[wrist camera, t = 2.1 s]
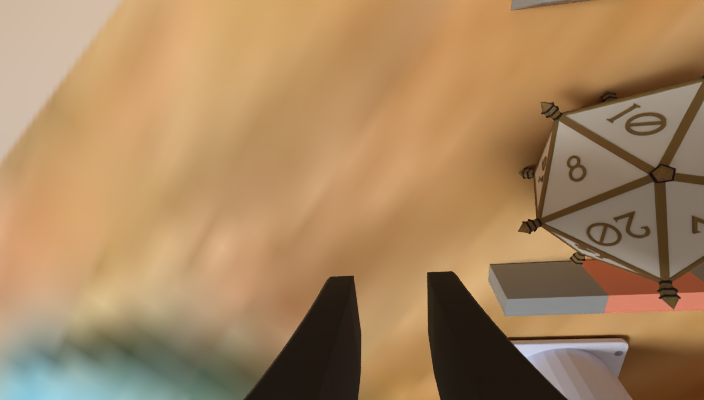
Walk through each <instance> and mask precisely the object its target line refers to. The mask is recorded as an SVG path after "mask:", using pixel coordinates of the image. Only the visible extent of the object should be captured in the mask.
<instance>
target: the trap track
mask: <svg viewBox="0 0 704 400" xmlns="http://www.w3.org/2000/svg"><path fill="white" fill-rule="evenodd" d="M582 1H590V0H512V6H511V10H517V9H525V8H533V7H541V6H550V5H558V4H566V3H574V2H582ZM489 283H490V285H491V287H492V289H493V291H494V293H495V295H496V297H497V300H498V302H499V304H500V306H501V308H502V310H503V312H504V314H505V316H531V315H564V314H597V313H629V312H662V311H695V310H704V262H703V263H701V264H700V265H698V266H697V267H695V268H693V269H692V270H690V271H689V272H687V273H686V274H684V275H682V276H681V277H679V278H678V279H676V280H675V281H673V282H672V285H673V287H674V288H676V289H677V290H678V292H677V294H678V295H679V296H680V297H681V299H679V300H678V302H677V304H676V306H675V308H674V309H672V308H671V307H670V306H669V305H668V304H667V303H665V302H664V301H663V300H662V299H659V298H658V297H660V293H659V292H657V290H659V283H658V282H655V281H653V280H650V279H647V278H645V277H642V276H639V275H636V274H634V273H631V272H628V271H625V270H623V269H620V268H617V267H615V266H612V265H609V264H606V263H604V262H601V261H598V260H585V261H583V265H581V264H578V265H574V266H573V265H572V261H561V262H539V263H518V264H496V265H490V269H489Z"/></svg>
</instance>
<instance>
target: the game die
mask: <svg viewBox="0 0 704 400" xmlns="http://www.w3.org/2000/svg"><path fill="white" fill-rule="evenodd" d="M615 95H616V93H612V92H609V91H605V93H604V94H603V96H601V99H602V102H603V103H599V104H595V105H591V106H587V107H583V108H579V109H576V110H572V111H568V112H564V113H560V112H559V108H558V106H555V105H554V102H552V103H547V102H541V107H542V113H541V114H545V115H546V117H547V118H548V117H550V118H552V119H553V120H554V122H553V125H552V127H551V130H550V132H549V135H548V137H547V140H546V143H545V145H544V148H543V150H542V153H541V156H540V158H539V161H538V163H537V166H536V168H535V171H533V170H532V169H531V168H529V169H527V168H525V169H524V170H522V171H521V172H519V174H520V175H521V176H522V177H523V179H525V178H528V179H530V178H533V177H534V189H535V205H536V219H535V220H530V219H528V221H526V222H524V221H523V222H522V223H523V224H522V225H521V227H520V229H519V230H518V232H525V233H529V234H531V232H532V231H534V232H535V231H536V230H537V228H538V227H543V228H544V229H546V230H547V231H548V232H550V233H551V234H553V235H554V236H556V237H557V238H559V239H560V240H561V241H563V242H564V243H566V244H567V245H569V246H570V247H571V248H573V249H574V250H576V251H577V252H576V253H574V254H573V256H572V257H570V259H571V261H572V265H573V266H574V265H578V264H581V265H583V261H585V256H587V257H590V258H593V259H595V260H598V261H601V262H604V263H606V264H609V265H612V266H615V267H617V268H620V269H623V270H625V271H628V272H631V273H634V274H636V275H639V276H642V277H645V278H647V279H650V280H653V281H655V282H658V283H659V290H657V292H659V293H660V297H658V298H659V299H662V300H663V301H664V302H665V303H667V304H668V305H669V306H670V307H671V308H672V309H674V308H675V306H676V304H677V302H678V300H679V299H681V297H680V296H679V295H678V294H677V292H678V290H677V289H676V288H674V287H673V285H672V282H673V281H675V280H676V279H678V278H679V277H681V276H682V275H684V274H686V273H687V272H689V271H690V270H692V269H693V268H695V267H697V266H698V265H700V264H701V263H703V262H704V76H703V77H701V78H697V79H693V80H689V81H685V82H681V83H677V84H674V85H670V86H666V87H662V88H658V89H654V90H650V91H646V92H642V93H638V94H634V95H630V96H627V97H623V98H619V99H616V98H617V97H615Z"/></svg>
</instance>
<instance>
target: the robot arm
mask: <svg viewBox="0 0 704 400" xmlns="http://www.w3.org/2000/svg"><path fill="white" fill-rule="evenodd" d="M427 288H428V335H429V342H430V349H431V356H432V363H433V370H434V375H435V379H436V383H437V387H438V391H439V395H440V400H633V399H632V398H631V396H630V395H629V394H628V392H627V391H626V389H625V388H624V387H623V385H622V384H621V382H620V381H619V380H618V376H619V373H620V370H621V367H622V365H623V362H624V359H625V356H626V353H627V350H628V346H629V345H628V344H627V342H626V341H625V340H624V339H622V338H602V339H559V340H515V341H510V340H509V339H508V338H507V337H506V335H505V334H504V333H503V332H502V331H501V330H500V329H499V328H498V326H497V325H496V324H495V323H494V322H493V321H492V320H491V318H490V317H489V316H488V315H487V314H486V313H485V311H484V310H483V309H482V308H481V306H480V305H479V304H478V303H477V301H476V300H475V299H474V298H473V296H472V295H471V294H470V293H469V291H468V290H467V289H466V287H465V286H464V285H463V283H462V282H461V281H460V279H459V278H458V276H457V275H456V274H455V273H454V272H452V271H449V272H427ZM360 375H361V329H360V321H359V313H358V306H357V298H356V291H355V283H354V276H338V277H330V278H329V279H328V280H327V281H326V283H325V284H324V286H323V288H322V290H321V291H320V293H319V295H318V297H317V298H316V300H315V302H314V303H313V305H312V306H311V308H310V310H309V311H308V313H307V314H306V316H305V318H304V319H303V321H302V322H301V324H300V325H299V327H298V328H297V330H296V331H295V332H294V334H293V335H292V337H291V338H290V340H289V341H288V343H287V344H286V346H285V347H284V348H283V350H282V351H281V352H280V354H279V355H278V356H277V358H276V359H275V360H274V362H273V363H272V364H271V366H270V367H269V368H268V370H267V371H266V372H265V374H264V375H263V376H262V378H261V379H260V380H259V381H258V383H257V384H256V385H255V386H254V388H253V389H252V390H251V391H250V393H249V394H248V395H247V396H246V397H245V399H244V400H358V393H359V384H360Z"/></svg>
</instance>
